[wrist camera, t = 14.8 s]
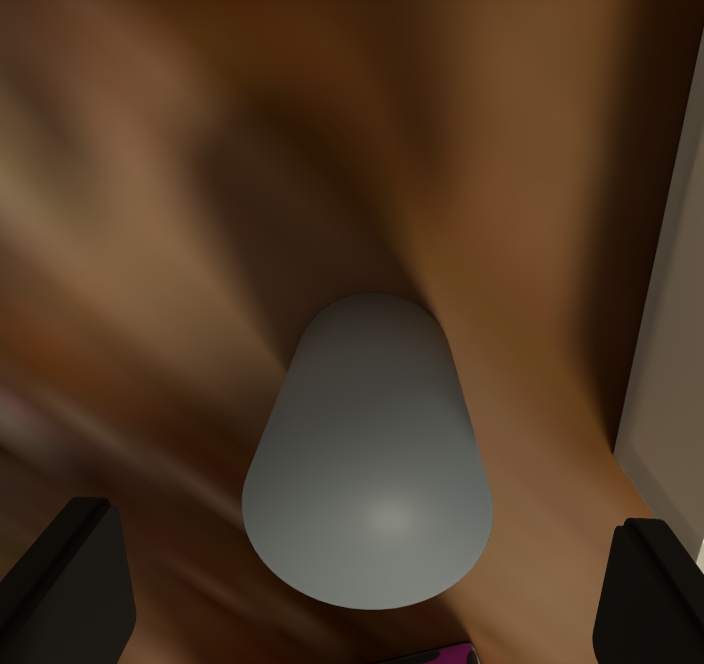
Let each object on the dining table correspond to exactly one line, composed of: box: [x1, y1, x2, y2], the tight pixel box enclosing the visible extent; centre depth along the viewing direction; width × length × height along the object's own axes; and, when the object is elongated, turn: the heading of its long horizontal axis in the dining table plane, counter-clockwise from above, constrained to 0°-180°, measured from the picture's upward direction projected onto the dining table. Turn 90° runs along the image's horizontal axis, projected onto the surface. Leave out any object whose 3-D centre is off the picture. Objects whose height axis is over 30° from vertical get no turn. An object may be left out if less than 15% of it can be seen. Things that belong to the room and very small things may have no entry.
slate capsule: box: [242, 292, 493, 610], centre depth 14 cm, size 5×5×7 cm
